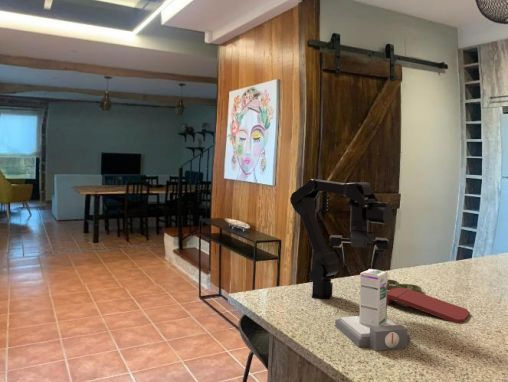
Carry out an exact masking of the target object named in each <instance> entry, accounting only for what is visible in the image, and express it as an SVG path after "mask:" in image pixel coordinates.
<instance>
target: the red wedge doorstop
mask: <svg viewBox="0 0 508 382" xmlns="http://www.w3.org/2000/svg"><path fill="white" fill-rule="evenodd" d="M393 302H398V303H400V304H403V305H405V306H409V307H411V308H414V309H415V310H419V311H422V312H424V313H428V314H430V315H432V316H436V317H437V318H440V319H443V320H446V321H448V322H452V323H455V324H460V323H464V322H465V321H466V320H467V318H469V317H470V311H469V310H468V309H467V308H464V307H463V306H459V305H456V304H453V303H451V302H447V301H444V300H441V299H438V298H436V297H433V296H430V295H427V294H425V293H423V292H422V293H419V292H416V291H413V290H411V289H407V288H405V289H404V288H395V289H394V288H392V289H388V290H387V306H389V305H391V304H392V303H393Z"/></svg>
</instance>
